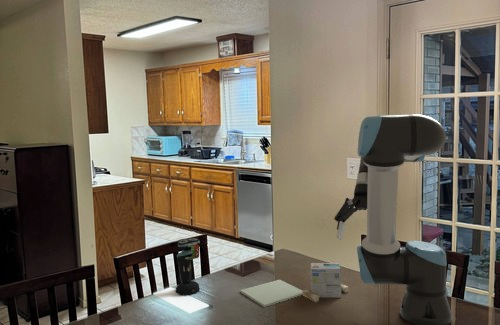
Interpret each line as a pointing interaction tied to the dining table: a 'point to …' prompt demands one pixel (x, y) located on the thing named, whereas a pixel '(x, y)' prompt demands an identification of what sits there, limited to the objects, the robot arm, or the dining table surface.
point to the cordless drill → (187, 266)
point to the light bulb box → (326, 279)
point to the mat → (272, 292)
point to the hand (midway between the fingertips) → (355, 238)
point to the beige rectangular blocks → (316, 297)
